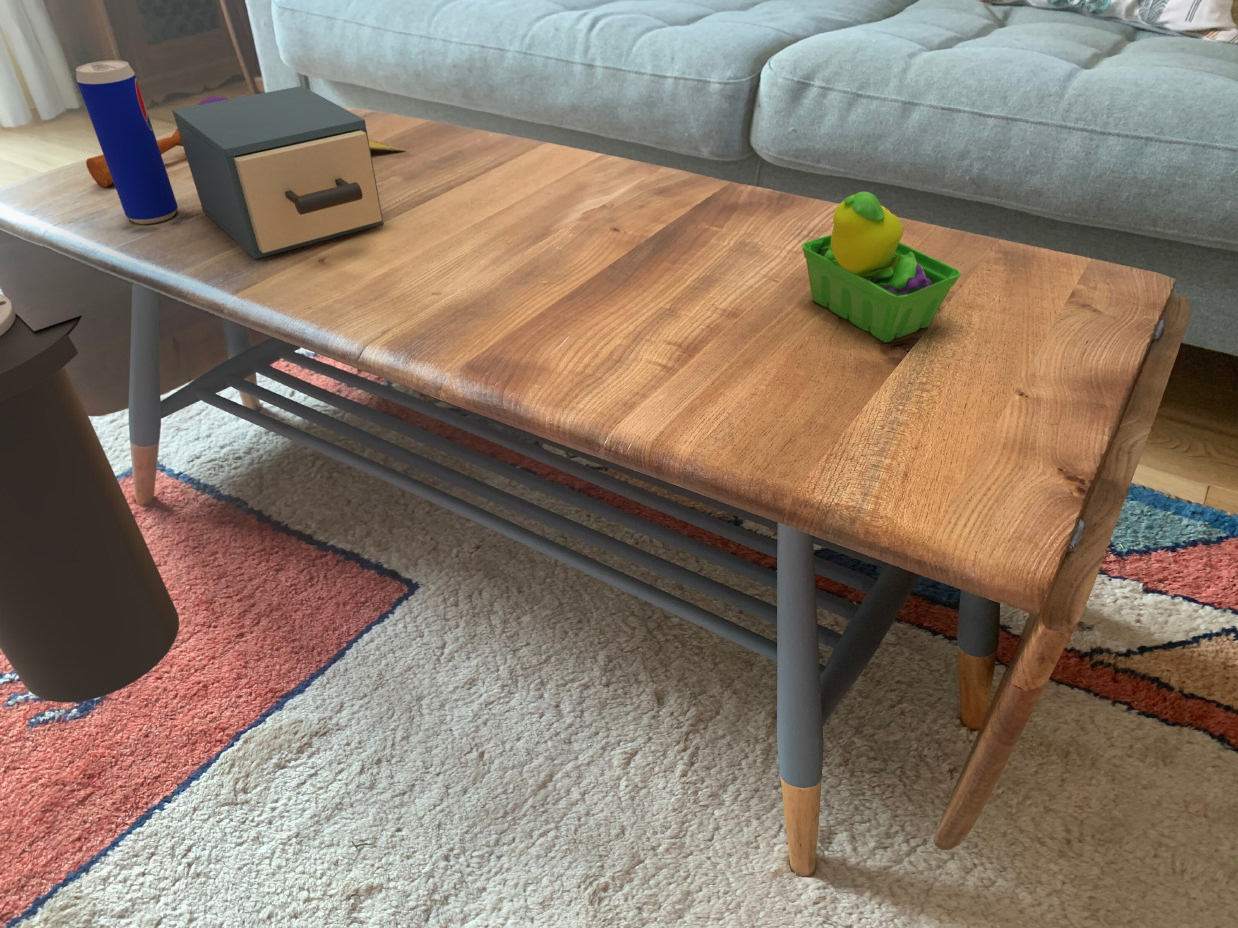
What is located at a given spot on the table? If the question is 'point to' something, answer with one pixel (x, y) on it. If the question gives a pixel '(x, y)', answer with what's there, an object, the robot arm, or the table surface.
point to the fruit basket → (875, 272)
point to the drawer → (309, 189)
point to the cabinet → (253, 149)
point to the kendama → (101, 170)
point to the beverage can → (127, 140)
